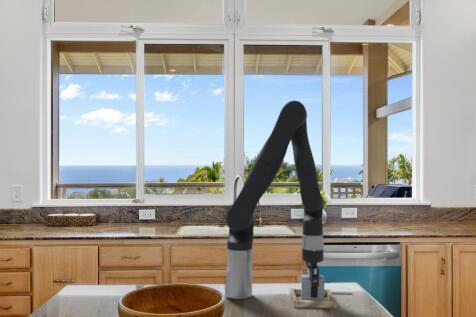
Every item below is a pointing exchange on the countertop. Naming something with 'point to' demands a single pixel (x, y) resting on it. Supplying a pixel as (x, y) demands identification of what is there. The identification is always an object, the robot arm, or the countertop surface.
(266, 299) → the countertop surface
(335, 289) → the sage mat
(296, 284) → the countertop surface
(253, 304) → the countertop surface
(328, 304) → the pocket tray
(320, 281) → the medicine box
